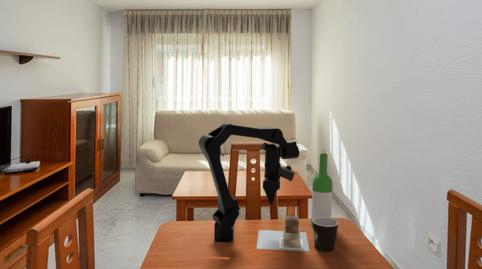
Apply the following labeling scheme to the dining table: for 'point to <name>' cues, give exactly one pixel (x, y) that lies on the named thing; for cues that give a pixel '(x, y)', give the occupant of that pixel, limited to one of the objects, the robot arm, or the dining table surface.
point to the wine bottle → (322, 192)
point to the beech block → (291, 239)
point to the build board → (279, 241)
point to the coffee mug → (325, 233)
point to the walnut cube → (291, 224)
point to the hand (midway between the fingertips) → (271, 200)
